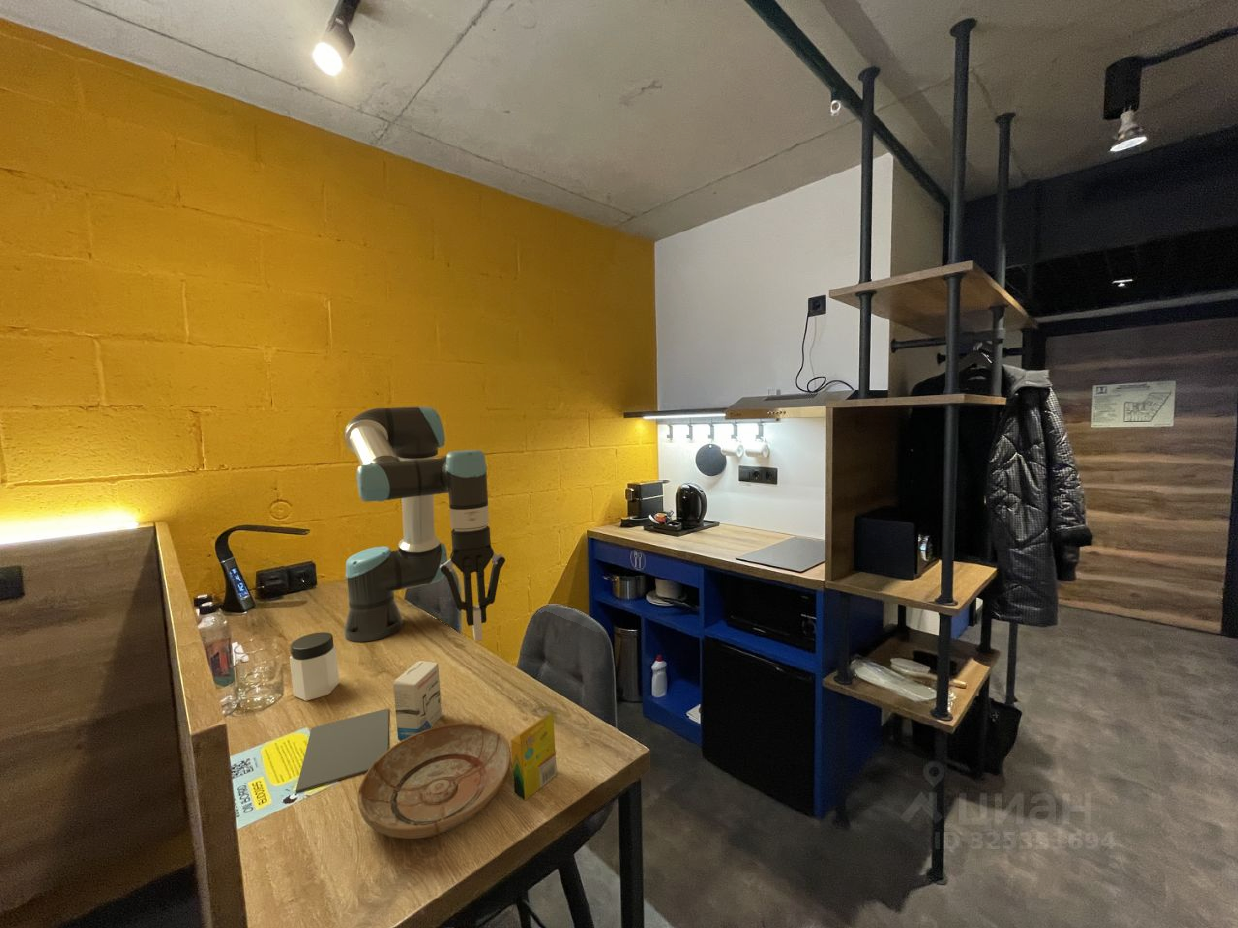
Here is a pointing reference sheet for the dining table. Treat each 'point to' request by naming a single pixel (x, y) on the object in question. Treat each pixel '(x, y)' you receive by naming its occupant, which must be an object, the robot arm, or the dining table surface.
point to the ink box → (417, 699)
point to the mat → (343, 749)
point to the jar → (314, 666)
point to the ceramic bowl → (434, 780)
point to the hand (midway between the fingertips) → (477, 638)
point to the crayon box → (534, 757)
